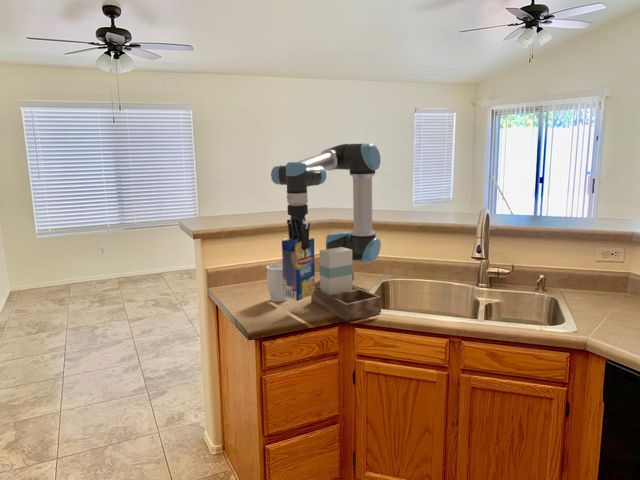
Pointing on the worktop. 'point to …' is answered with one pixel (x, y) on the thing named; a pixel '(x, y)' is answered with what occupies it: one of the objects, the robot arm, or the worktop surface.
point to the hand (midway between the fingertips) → (299, 265)
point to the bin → (348, 303)
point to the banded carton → (336, 270)
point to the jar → (275, 282)
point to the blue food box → (298, 269)
